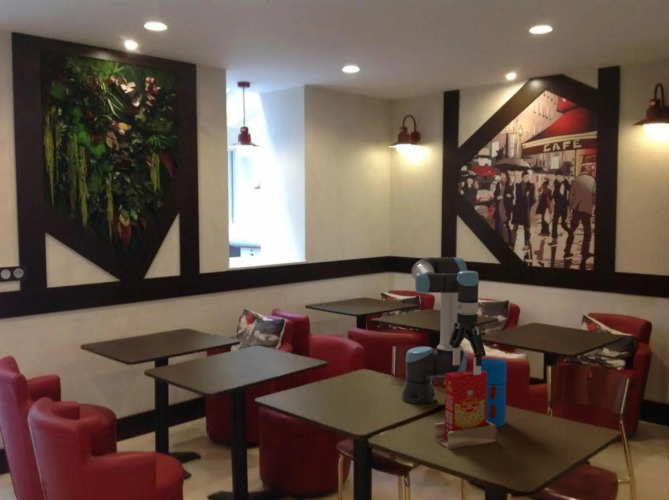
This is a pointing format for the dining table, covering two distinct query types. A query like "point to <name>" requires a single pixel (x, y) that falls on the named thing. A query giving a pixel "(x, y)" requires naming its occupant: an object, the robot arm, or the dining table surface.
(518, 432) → the dining table surface
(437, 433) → the u rest
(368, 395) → the dining table surface
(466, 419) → the food packaging
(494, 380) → the thermos
